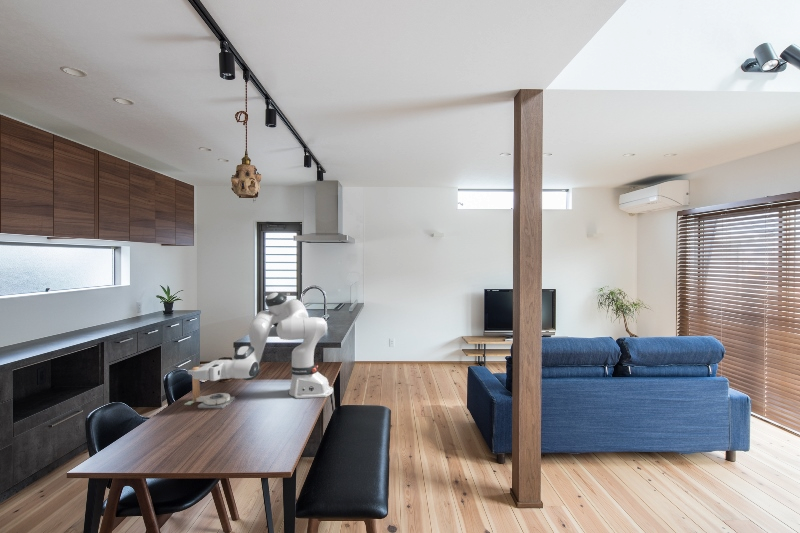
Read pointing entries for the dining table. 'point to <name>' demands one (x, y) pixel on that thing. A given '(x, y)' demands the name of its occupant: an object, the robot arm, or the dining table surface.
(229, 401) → the plinth
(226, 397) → the peg stand
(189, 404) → the lock mark
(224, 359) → the coffee cup
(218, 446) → the dining table surface
